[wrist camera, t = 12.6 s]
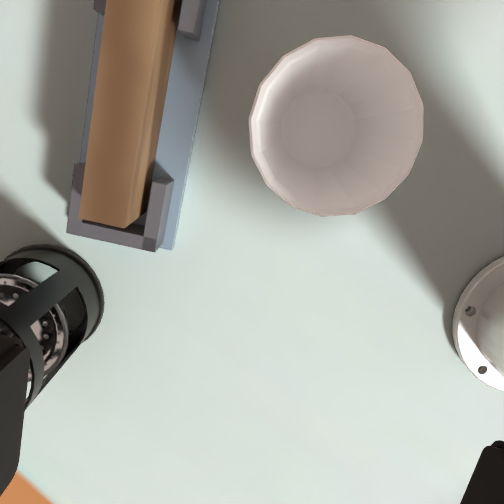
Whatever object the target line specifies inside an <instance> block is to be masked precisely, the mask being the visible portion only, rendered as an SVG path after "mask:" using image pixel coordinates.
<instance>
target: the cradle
mask: <svg viewBox="0 0 504 504" xmlns="http://www.w3.org/2000/svg"><path fill="white" fill-rule="evenodd" d="M219 2H220V0H182V2H181V8H180V14H179V20H178V26H177V32H176V38H175V44H174V50H173V56H172V62H171V68H170V74H169V80H168V86H167V92H166V98H165V104H164V110H163V116H162V122H161V128H160V134H159V140H158V146H157V152H156V158H155V164H154V170H153V176H152V182H151V188H150V194H149V200H148V206H147V212H146V213H145V214H143V215H142V216H141V217H139V218H138V219H136V220H135V221H134V222H132V223H131V224H130V225H128V226H127V227H125V228H120V227H116V226H111V225H107V224H102V223H98V222H93V221H89V220H84V219H80V218H79V211H80V203H81V195H82V188H83V180H84V172H85V164H86V156H87V149H88V141H89V133H90V125H91V117H92V110H93V102H94V94H95V86H96V78H97V70H98V63H99V55H100V47H101V39H102V31H103V24H104V16H105V8H106V0H94V8H93V9H94V10H96V11H97V12H98V20H97V28H96V36H95V44H94V52H93V60H92V68H91V77H90V85H89V93H88V101H87V109H86V117H85V125H84V133H83V141H82V149H81V157H80V163H78V164H74V173H73V181H72V189H71V197H70V206H69V214H68V222H67V230H66V233H69V234H74V235H78V236H83V237H88V238H92V239H97V240H101V241H106V242H110V243H115V244H119V245H124V246H128V247H133V248H137V249H142V250H146V251H151V252H156V250H157V249H158V248H163V249H167V250H172V249H173V248H174V244H175V239H176V233H177V228H178V222H179V217H180V212H181V206H182V201H183V196H184V190H185V185H186V179H187V174H188V169H189V163H190V158H191V153H192V147H193V142H194V136H195V131H196V126H197V120H198V115H199V110H200V104H201V99H202V93H203V88H204V83H205V77H206V72H207V67H208V61H209V56H210V51H211V45H212V40H213V34H214V29H215V24H216V18H217V13H218V8H219Z"/></svg>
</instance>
